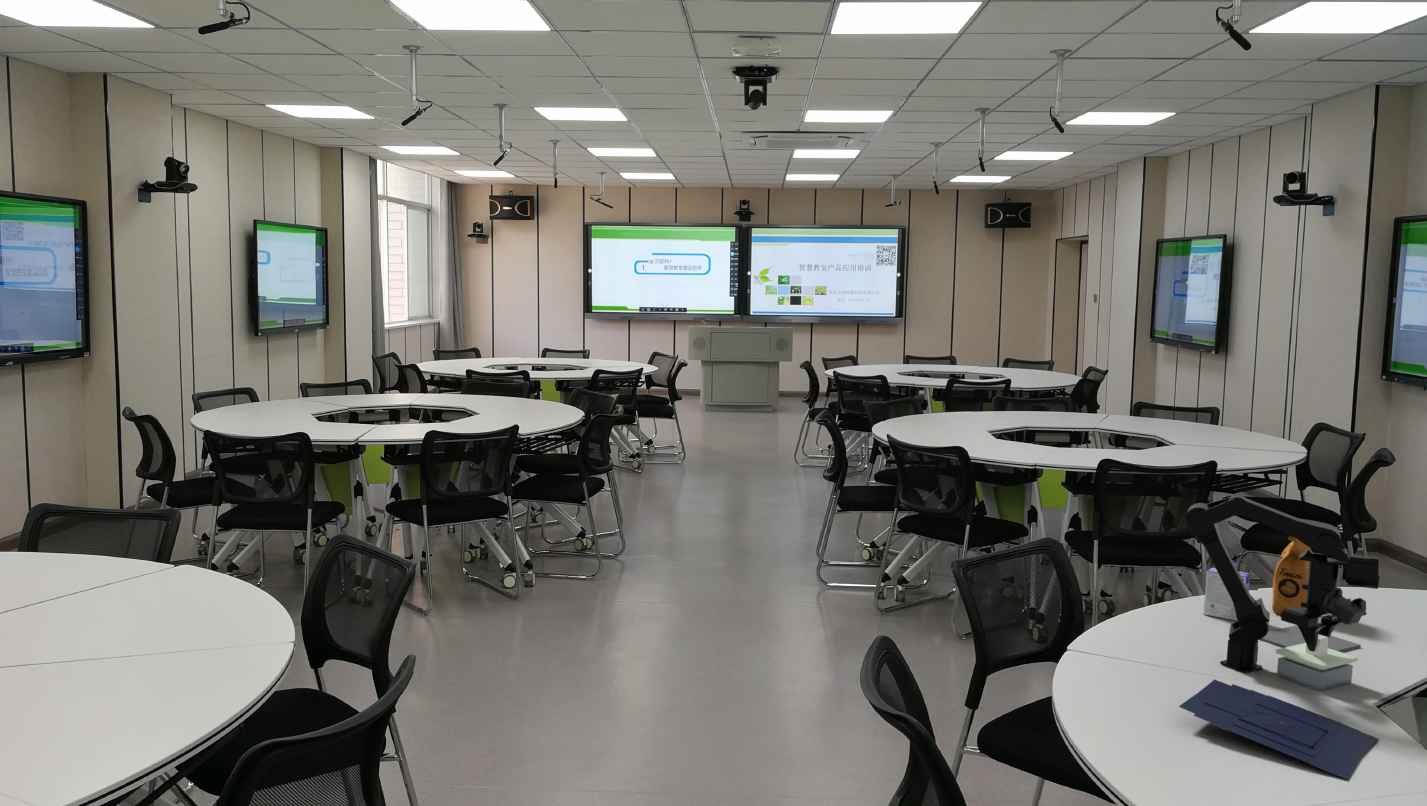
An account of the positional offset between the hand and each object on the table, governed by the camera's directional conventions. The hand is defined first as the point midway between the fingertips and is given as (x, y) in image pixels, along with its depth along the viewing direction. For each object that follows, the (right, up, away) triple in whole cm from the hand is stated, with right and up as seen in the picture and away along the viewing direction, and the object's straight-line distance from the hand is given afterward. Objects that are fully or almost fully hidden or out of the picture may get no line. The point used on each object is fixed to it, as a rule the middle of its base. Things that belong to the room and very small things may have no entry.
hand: (1316, 650), depth 226 cm
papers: (-25, -10, -28) cm, 39 cm away
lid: (0, -3, 0) cm, 3 cm away
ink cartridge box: (+2, -2, +44) cm, 44 cm away
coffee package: (+22, -2, +49) cm, 54 cm away
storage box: (0, -7, +1) cm, 7 cm away
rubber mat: (+12, -4, +25) cm, 28 cm away
